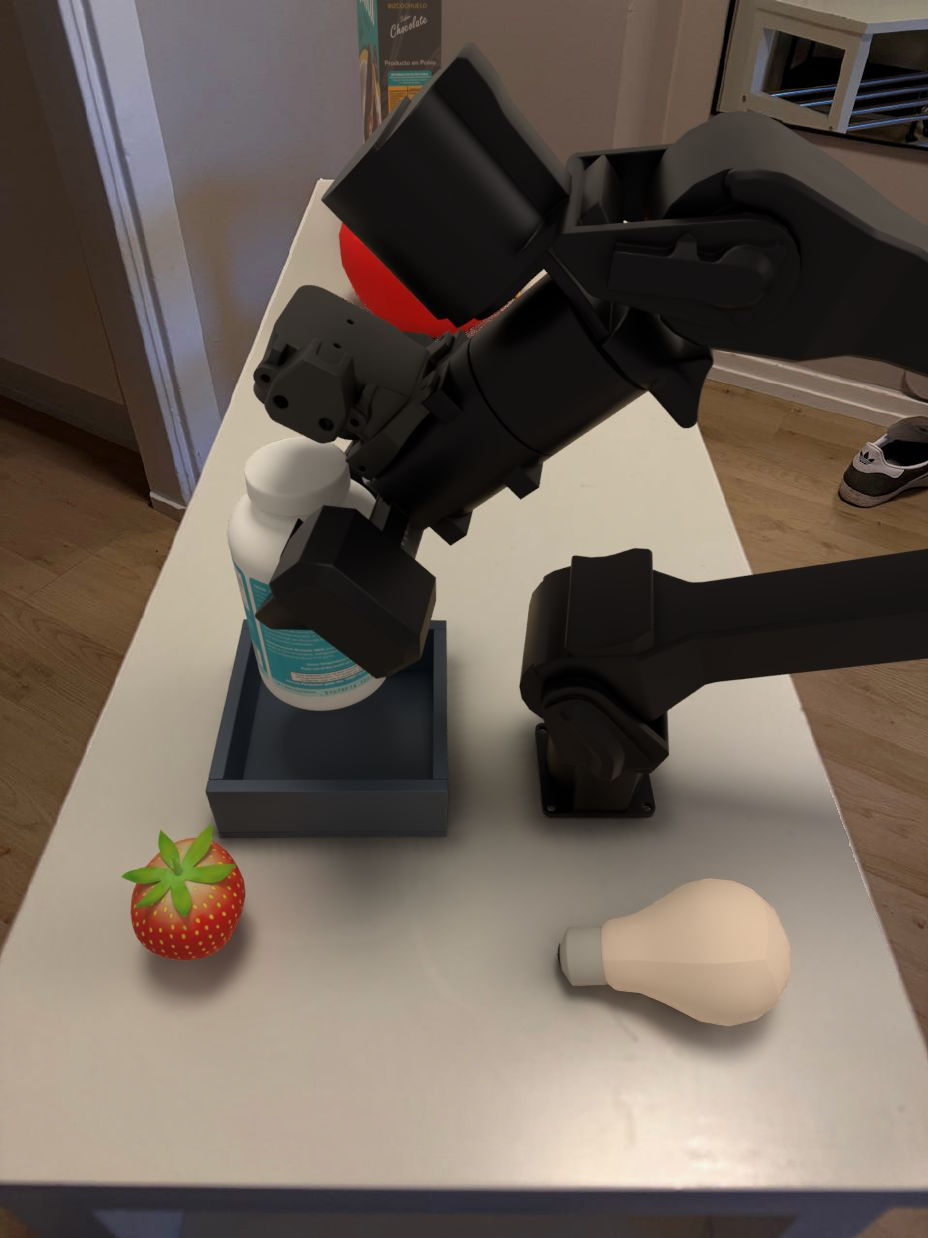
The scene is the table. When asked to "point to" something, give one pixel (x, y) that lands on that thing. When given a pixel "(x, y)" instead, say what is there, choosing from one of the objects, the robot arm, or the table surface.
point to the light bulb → (689, 953)
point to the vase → (388, 291)
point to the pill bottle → (257, 533)
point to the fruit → (187, 898)
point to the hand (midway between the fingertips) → (287, 566)
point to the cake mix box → (395, 53)
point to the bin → (334, 756)
